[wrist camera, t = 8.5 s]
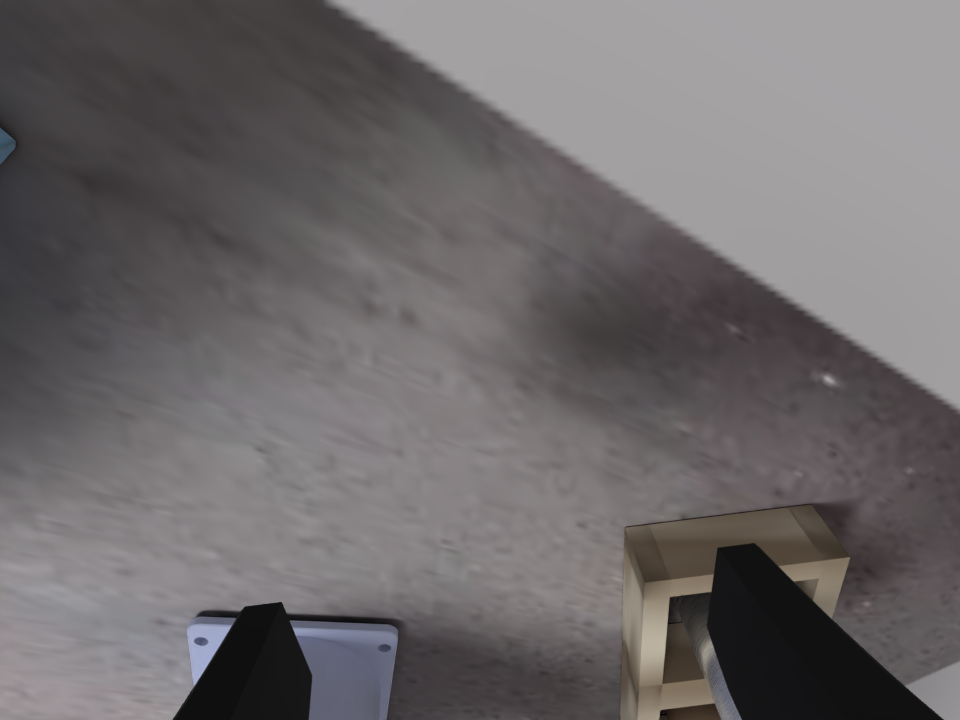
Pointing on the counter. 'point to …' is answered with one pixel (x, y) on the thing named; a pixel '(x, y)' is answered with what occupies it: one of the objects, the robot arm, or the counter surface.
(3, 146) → the gum box
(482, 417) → the counter surface
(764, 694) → the robot arm
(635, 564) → the socket block
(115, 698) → the counter surface
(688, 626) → the grey peg
